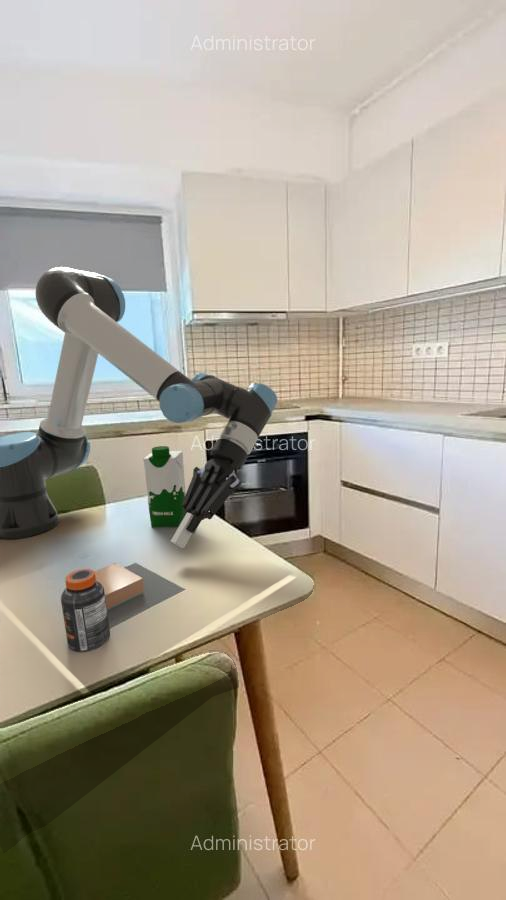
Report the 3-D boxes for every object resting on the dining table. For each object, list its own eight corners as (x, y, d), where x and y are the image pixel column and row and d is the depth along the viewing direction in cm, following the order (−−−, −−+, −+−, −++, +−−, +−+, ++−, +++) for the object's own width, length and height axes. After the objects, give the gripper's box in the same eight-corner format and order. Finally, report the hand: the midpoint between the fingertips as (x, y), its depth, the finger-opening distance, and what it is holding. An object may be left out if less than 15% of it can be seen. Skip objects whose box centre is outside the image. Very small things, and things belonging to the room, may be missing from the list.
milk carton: (146, 531, 107) (138, 450, 103) (158, 517, 116) (151, 442, 112) (182, 531, 106) (175, 449, 102) (191, 517, 115) (185, 441, 111)
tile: (117, 577, 84) (71, 597, 77) (115, 563, 83) (68, 582, 77) (144, 593, 78) (96, 617, 71) (142, 578, 77) (93, 600, 71)
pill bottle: (68, 637, 68) (57, 569, 65) (108, 627, 70) (100, 561, 68) (68, 661, 62) (57, 588, 60) (112, 649, 65) (103, 578, 62)
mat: (62, 597, 79) (61, 593, 79) (135, 566, 90) (135, 562, 89) (108, 633, 68) (107, 629, 68) (185, 593, 79) (185, 589, 79)
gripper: (203, 433, 98) (145, 528, 90) (245, 440, 89) (185, 545, 81) (222, 452, 103) (169, 544, 95) (264, 460, 94) (209, 562, 86)
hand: (177, 544), depth 88 cm, fingers closed
